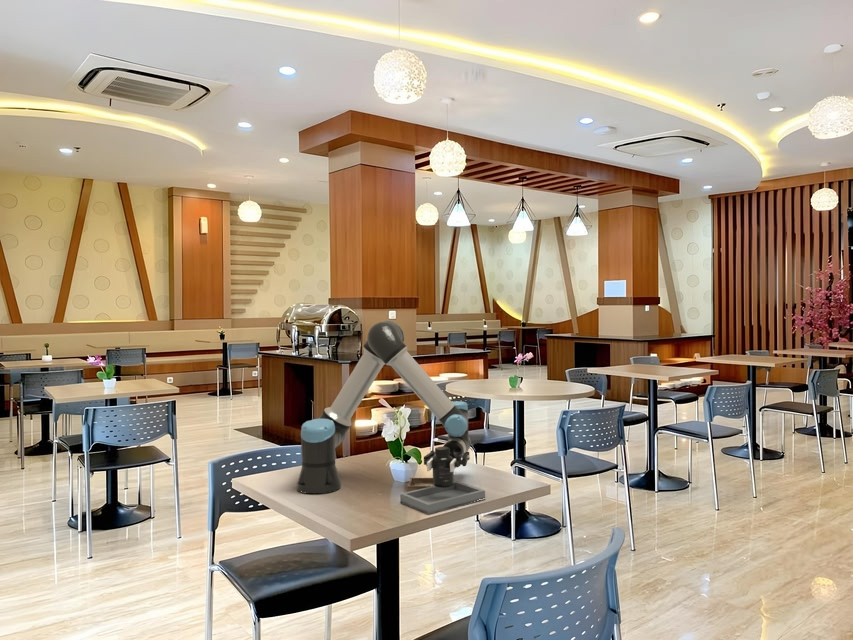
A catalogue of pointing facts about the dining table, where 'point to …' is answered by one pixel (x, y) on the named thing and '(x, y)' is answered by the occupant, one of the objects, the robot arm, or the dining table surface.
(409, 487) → the square wooden tray
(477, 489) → the parts tray
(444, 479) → the supplement bottle
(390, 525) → the dining table surface
